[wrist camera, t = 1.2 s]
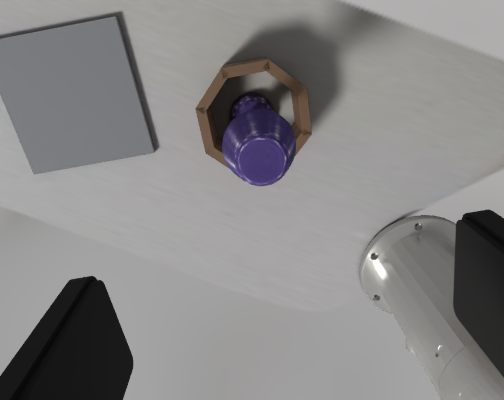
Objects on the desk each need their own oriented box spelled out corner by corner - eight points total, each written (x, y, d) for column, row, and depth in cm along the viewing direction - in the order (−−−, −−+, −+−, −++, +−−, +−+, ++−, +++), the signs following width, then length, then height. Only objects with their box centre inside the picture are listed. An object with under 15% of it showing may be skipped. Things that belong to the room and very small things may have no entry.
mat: (155, 151, 37) (154, 152, 37) (36, 172, 38) (33, 174, 37) (117, 16, 33) (115, 16, 32) (-17, 42, 33) (-22, 42, 32)
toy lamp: (219, 98, 35) (204, 143, 20) (265, 77, 35) (286, 106, 19) (241, 144, 37) (242, 218, 22) (285, 125, 37) (318, 186, 21)
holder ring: (307, 150, 38) (315, 164, 33) (215, 166, 38) (212, 182, 34) (294, 51, 34) (302, 53, 30) (194, 70, 34) (187, 74, 30)
